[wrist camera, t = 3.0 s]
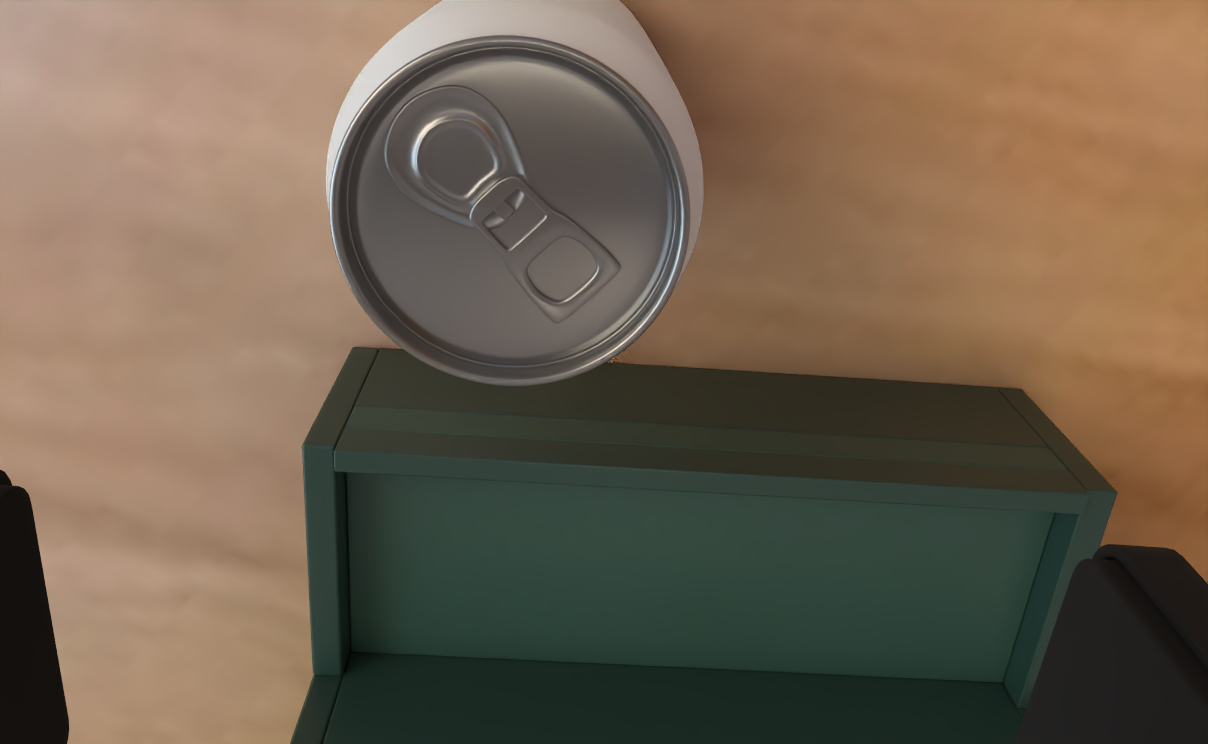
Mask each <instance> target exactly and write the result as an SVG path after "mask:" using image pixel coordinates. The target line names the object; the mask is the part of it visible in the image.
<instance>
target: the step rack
mask: <svg viewBox="0 0 1208 744" xmlns="http://www.w3.org/2000/svg"><path fill="white" fill-rule="evenodd" d="M302 456H303V477H304V498H305V518H306V539H307V560H308V580H309V601H310V622H311V643H312V663H313V673H314V676H313V679H312V681H311V684H310V687H309V690H308V693H307V696H306V699H305V702H304V705H303V707H302V710H301V713H300V716H299V719H298V722H297V725H296V728H295V731H294V734H293V736H292V739H291V742H290V744H1014V743H1015V740H1016V737H1017V734H1018V731H1019V728H1020V725H1021V722H1022V719H1023V716H1024V714H1025V711H1026V708H1027V705H1028V702H1029V699H1030V696H1031V693H1032V690H1033V687H1034V684H1035V681H1036V679H1037V676H1038V673H1039V670H1040V667H1041V664H1042V661H1043V658H1044V655H1045V652H1046V649H1047V646H1048V644H1049V641H1050V638H1051V635H1052V632H1053V629H1054V626H1055V623H1056V620H1057V617H1058V614H1059V611H1060V609H1061V606H1062V603H1063V600H1064V597H1065V594H1066V591H1067V588H1068V585H1069V582H1070V579H1071V576H1072V574H1073V571H1074V569H1075V567H1076V565H1077V564H1078V563H1079V562H1080V561H1081V560H1084V559H1087V558H1088V559H1092V557H1093V555H1094V553H1095V552H1096V551H1097V550H1098V549H1099V546H1100V543H1101V540H1102V537H1103V534H1104V531H1105V528H1106V525H1107V522H1108V519H1109V516H1110V513H1111V510H1112V507H1113V504H1114V501H1115V498H1116V495H1117V491H1116V490H1115V489H1114V488H1113V487H1112V486H1111V485H1110V484H1109V483H1108V482H1107V481H1106V479H1105V478H1104V477H1103V476H1102V475H1101V474H1100V473H1099V472H1098V471H1097V470H1096V469H1095V468H1094V467H1093V465H1092V464H1091V463H1090V462H1089V461H1088V460H1087V459H1086V458H1085V457H1084V456H1083V455H1082V454H1081V453H1080V451H1079V450H1078V449H1077V448H1076V447H1075V446H1074V445H1073V444H1072V443H1071V442H1070V441H1069V440H1068V439H1067V437H1066V436H1065V435H1064V434H1063V433H1062V432H1061V431H1060V430H1059V429H1058V428H1057V427H1056V426H1055V425H1054V423H1053V422H1052V421H1051V420H1050V419H1049V418H1048V417H1047V416H1046V415H1045V414H1044V413H1043V412H1042V411H1041V410H1040V408H1039V407H1038V406H1037V405H1036V404H1035V403H1034V402H1033V401H1032V400H1031V399H1030V398H1029V397H1028V396H1027V394H1026V393H1025V392H1024V391H1023V390H1022V389H1012V388H995V387H981V386H965V385H950V384H934V383H918V382H903V381H887V380H871V379H856V378H840V377H824V376H809V375H793V374H777V373H762V372H746V371H730V370H715V369H699V368H683V367H668V366H652V365H636V364H621V363H603V364H602V365H600V366H598V367H596V368H594V369H592V370H589V371H587V372H585V373H582V374H580V375H577V376H574V377H571V378H568V379H565V380H561V381H557V382H552V383H547V384H541V385H532V386H499V385H490V384H483V383H478V382H474V381H469V380H466V379H462V378H459V377H456V376H453V375H450V374H447V373H445V372H442V371H440V370H438V369H436V368H434V367H432V366H430V365H428V364H426V363H424V362H422V361H420V360H419V359H417V358H415V357H414V356H412V355H411V354H409V353H408V352H406V351H405V350H401V349H385V348H381V349H380V350H378V349H376V348H361V347H354V348H352V350H351V352H350V354H349V356H348V358H347V359H346V361H345V363H344V365H343V367H342V369H341V371H340V373H339V375H338V377H337V379H336V381H335V383H334V385H333V387H332V389H331V390H330V392H329V394H328V396H327V398H326V400H325V402H324V404H323V406H322V408H321V410H320V412H319V414H318V416H317V418H316V420H315V421H314V423H313V425H312V427H311V429H310V431H309V433H308V435H307V437H306V439H305V441H304V443H303V445H302Z"/></svg>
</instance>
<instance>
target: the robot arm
mask: <svg viewBox="0 0 1208 744" xmlns="http://www.w3.org/2000/svg"><path fill="white" fill-rule="evenodd" d="M68 734H69V719H68V713H67V707H66V701H65V696H64V690H63V684H62V678H61V673H60V667H59V661H58V655H57V649H56V644H55V638H54V632H53V626H52V620H51V615H50V609H49V603H48V597H47V591H46V586H45V580H44V574H43V568H42V563H41V557H40V551H39V545H38V539H37V534H36V528H35V522H34V516H33V510H32V505H31V501H30V497H29V495H28V493H27V492H26V490H25V489H23V488H22V487H20V486H12V484H11V480H10V479H9V477H8V476H7V474H6V473H5V472H4V471H2V470H0V744H67V741H68ZM1014 744H1208V584H1207V583H1206V582H1205V581H1204V579H1203V578H1202V577H1201V576H1200V575H1199V574H1198V573H1197V572H1196V571H1195V570H1194V568H1193V567H1192V566H1191V565H1190V564H1189V563H1188V562H1187V561H1186V560H1185V559H1184V557H1183V556H1181V555H1180V554H1179V553H1178V552H1176V551H1175V550H1172V549H1168V548H1159V547H1145V546H1130V545H1116V544H1107V545H1104V546H1102V547H1100V548H1099V549H1098V550H1097V551H1096V552H1095V553H1094V555H1093V557H1092V559H1088V558H1087V559H1084V560H1081V561H1080V562H1079V563H1078V564H1077V565H1076V567H1075V569H1074V571H1073V574H1072V576H1071V579H1070V582H1069V585H1068V588H1067V591H1066V594H1065V597H1064V600H1063V603H1062V606H1061V609H1060V611H1059V614H1058V617H1057V620H1056V623H1055V626H1054V629H1053V632H1052V635H1051V638H1050V641H1049V644H1048V646H1047V649H1046V652H1045V655H1044V658H1043V661H1042V664H1041V667H1040V670H1039V673H1038V676H1037V679H1036V681H1035V684H1034V687H1033V690H1032V693H1031V696H1030V699H1029V702H1028V705H1027V708H1026V711H1025V714H1024V716H1023V719H1022V722H1021V725H1020V728H1019V731H1018V734H1017V737H1016V740H1015V743H1014Z"/></svg>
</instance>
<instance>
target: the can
mask: <svg viewBox="0 0 1208 744" xmlns="http://www.w3.org/2000/svg"><path fill="white" fill-rule="evenodd" d="M326 192H327V202H328V209H329V216H330V227H331V234H332V239H333V244H334V248H335V252H336V255H337V258H338V261H339V264H340V267H341V269H342V272H343V274H344V277H345V279H346V281H347V283H348V285H349V287H350V289H351V291H352V292H353V294H354V296H355V297H356V299H357V301H358V302H359V304H360V305H361V306H362V308H363V309H364V311H365V312H366V313H367V315H368V316H369V317H370V318H371V319H372V321H373V322H374V323H375V324H376V325H377V326H378V327H379V328H380V329H381V330H382V331H383V332H384V333H385V334H386V335H387V336H388V337H389V338H390V339H391V340H392V341H393V342H395V343H396V344H397V345H398V346H400V347H401V348H402V349H404V350H405V351H406V352H408V353H409V354H411V355H412V356H414V357H415V358H417V359H419V360H420V361H422V362H424V363H426V364H428V365H430V366H432V367H434V368H436V369H438V370H440V371H442V372H445V373H447V374H450V375H453V376H456V377H459V378H462V379H466V380H469V381H474V382H478V383H483V384H490V385H499V386H532V385H541V384H547V383H552V382H557V381H561V380H565V379H568V378H571V377H574V376H577V375H580V374H582V373H585V372H587V371H589V370H592V369H594V368H596V367H598V366H600V365H602V364H603V363H605V362H607V361H609V360H610V359H612V358H613V357H615V356H616V355H618V354H619V353H621V352H622V351H623V350H625V349H626V348H627V347H628V346H630V345H631V344H632V343H633V342H634V341H635V340H636V339H638V338H639V337H640V336H641V335H642V334H643V333H644V331H645V330H646V329H647V328H648V327H649V326H650V325H651V324H652V322H653V321H654V320H655V319H656V317H657V316H658V315H659V313H660V312H661V310H662V309H663V307H664V306H665V304H666V302H667V301H668V299H669V297H670V295H671V293H672V291H673V290H674V288H675V287H676V285H677V283H678V282H679V280H680V278H681V276H682V275H683V273H684V271H685V269H686V267H687V265H688V262H689V260H690V258H691V255H692V252H693V250H694V247H695V244H696V240H697V237H698V233H699V228H700V223H701V218H702V210H703V195H704V185H703V167H702V159H701V154H700V148H699V144H698V140H697V136H696V133H695V130H694V127H693V124H692V121H691V118H690V116H689V113H688V111H687V108H686V106H685V104H684V101H683V99H682V97H681V95H680V93H679V91H678V89H677V87H676V85H675V84H674V82H673V80H672V78H671V76H670V74H669V72H668V71H667V69H666V67H665V65H664V63H663V62H662V60H661V58H660V56H659V55H658V53H657V51H656V49H655V48H654V46H653V44H652V42H651V41H650V39H649V37H648V36H647V34H646V32H645V31H644V29H643V28H642V26H641V25H640V23H639V22H638V21H637V19H636V18H635V17H634V15H633V14H632V13H631V12H630V11H629V10H628V8H627V7H626V6H625V5H624V4H623V3H622V2H621V1H620V0H442V1H441V2H439V3H438V4H436V5H435V6H433V7H432V8H431V9H429V10H428V11H426V12H425V13H423V14H422V15H421V16H419V17H418V18H417V19H415V20H414V21H412V22H411V23H410V24H409V25H407V26H406V27H405V28H403V29H402V30H401V31H399V32H398V33H397V34H396V35H395V36H394V37H392V38H391V39H390V40H389V41H388V42H387V43H386V44H385V45H384V46H383V47H382V48H381V49H380V50H379V51H378V52H377V53H376V54H375V55H374V56H373V57H372V58H371V60H370V61H369V62H368V63H367V64H366V66H365V67H364V68H363V70H362V71H361V72H360V74H359V75H358V77H357V78H356V80H355V81H354V83H353V85H352V87H351V88H350V90H349V92H348V94H347V96H346V98H345V100H344V102H343V104H342V106H341V109H340V111H339V114H338V116H337V119H336V122H335V125H334V128H333V132H332V135H331V140H330V144H329V150H328V157H327V167H326Z"/></svg>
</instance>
